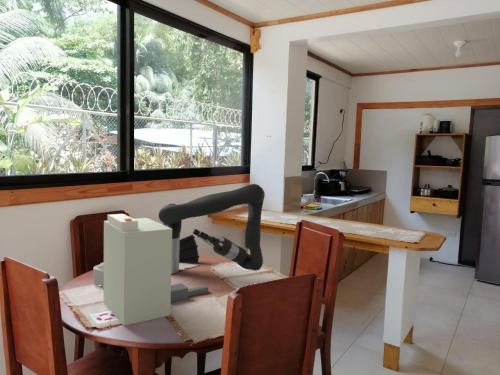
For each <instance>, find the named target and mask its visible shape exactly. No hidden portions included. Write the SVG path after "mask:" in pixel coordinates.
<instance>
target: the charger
mask: <svg viewBox="0 0 500 375" xmlns="http://www.w3.org/2000/svg"><path fill="white" fill-rule="evenodd" d="M206 293H209V286H207V285H201V286H196V287H192V288H189V287H188V286H186V285H185V284H183V283H182V282H180V283H177V284H171V303H173V302H177V301H182V300H188V299H189V297H193V296H197V295H202V294H206Z"/></svg>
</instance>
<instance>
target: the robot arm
mask: <svg viewBox="0 0 500 375" xmlns="http://www.w3.org/2000/svg"><path fill="white" fill-rule="evenodd" d="M265 195H266V194H265V190H264V188H262V187H261V186H260V185H259V184H257V183H251V184H248V185H245V186H243V187H239V188H236V189H233V190H228V191H221V192H217V193H216V192H215V193H212V194H207V195H204V196H201V197H197V198H195V199H192V200H189V201H187V202H184V203H180V204H176V203H169V204H167V205H164V206H163V207H161V209H159V211H158V220H159V221H160V222H161V223H162V225H165V226H167V227H169V228H171V229H172V259H171V275H172V274H177V273H179V271H180V262H179V251H180V238H181V230H182V223H183V222H182V221H183V220H186V219H190V218H198V217H204V216H209V215H210V216H211V215H214V214H219V213H221V212H224V211H226V210H228V209H231V208H233V207H236V206H240V205H241V206H242V205H247V209H248V210H247V212H248V215H247V221H246V226H245V238H244V241H245V242H244V247H245V248H246V249H247V250H249V253H250V254H249V253H247V250H246V249H244V248H243V247H241V246H239V245H238V244H236V243H235V242H234V241H232V240H230V239H228V238H227V237H224V236H219V237H216V236H214V235H210V234H209V233H206V232H204V231H201V230H198V229H196V228H194V230H193V231H192V235H194V236H195V237H196V236H197V238H198V239H201V240H202V241H203V242H205V243H207V244H208V245H210V246H211V247H212V250H213V252H214V253H216V254H218V255H219V256H221V257H223V258H225V259H228V260H230V261H231V262H234V263H236V264H237V266H240V267H241V268H242V269H245V270H248V271H259V270H261V269H262V267H263V264H264V256H263V253H262V248H261V234H262V233H261V222H262V221H261V218H262V212H263V211H262V210H263V204H264V201H265V198H266V196H265Z"/></svg>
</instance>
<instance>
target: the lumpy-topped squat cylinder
mask: <svg viewBox="0 0 500 375" xmlns="http://www.w3.org/2000/svg"><path fill="white" fill-rule="evenodd" d="M92 271H93V273H92V274H93V276H92V278H93V282H92V283H93V285H94V284H95V285H94V286H97V285H101V286H104V261H103V262H100V264H97V265H95V266H93V270H92Z"/></svg>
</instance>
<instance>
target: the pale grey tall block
mask: <svg viewBox="0 0 500 375" xmlns="http://www.w3.org/2000/svg"><path fill="white" fill-rule="evenodd" d="M171 259H172V229H171V228H169V227H167V226H165V225H163V223H160V222H157V221H155V220H153V219H150V218H149V217H137V218H133V217H131V216H129V215H127V214H124V213H117V214H116V213H114V214H113V213H112V214H107V220H104V221H103V262H104V287H103V303H104V305H105V306H106V305H107V306H108V307H107V306H106V307H107V308H108V309H109V310H110V311H112V312H111V313H112V314H113V315H114V317H116V319H117V320H118V321H119V322H120V323H121V324H122V326H123V327H125V326H130V325H133V324H138V323H142V322H147V321H151V320H155V319H159V318H164V317H168V316H171V303H172V302H171V285H172V274H171Z"/></svg>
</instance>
